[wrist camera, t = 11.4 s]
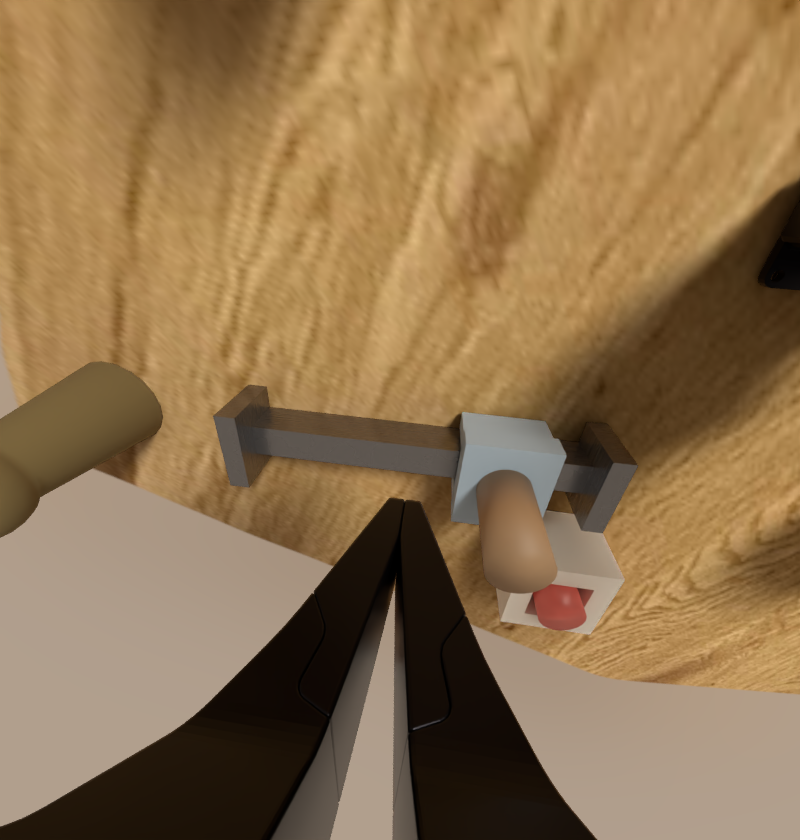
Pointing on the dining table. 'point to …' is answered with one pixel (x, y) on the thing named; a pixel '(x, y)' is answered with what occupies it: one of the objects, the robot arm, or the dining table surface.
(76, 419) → the olive pepper mill
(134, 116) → the dining table surface
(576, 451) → the rail
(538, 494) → the carriage
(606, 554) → the socket block
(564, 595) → the button
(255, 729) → the robot arm
